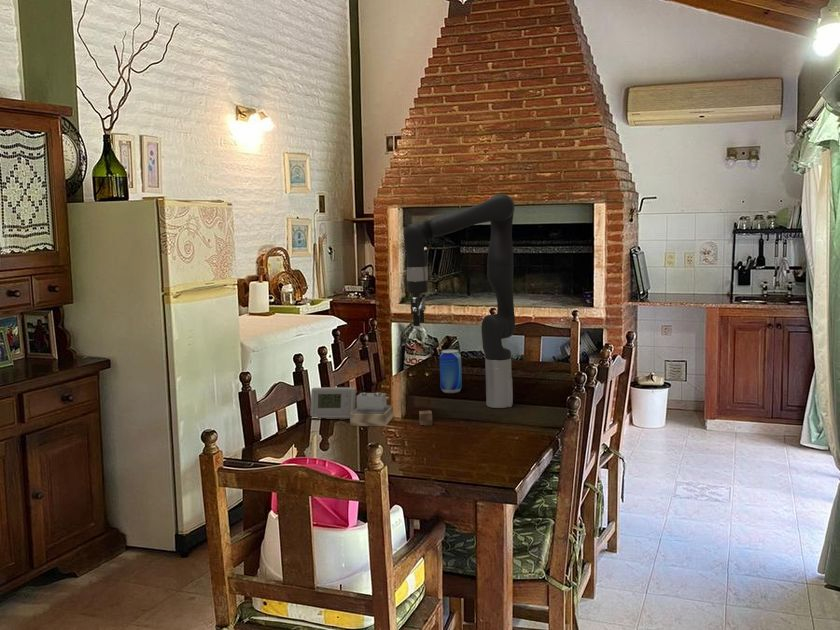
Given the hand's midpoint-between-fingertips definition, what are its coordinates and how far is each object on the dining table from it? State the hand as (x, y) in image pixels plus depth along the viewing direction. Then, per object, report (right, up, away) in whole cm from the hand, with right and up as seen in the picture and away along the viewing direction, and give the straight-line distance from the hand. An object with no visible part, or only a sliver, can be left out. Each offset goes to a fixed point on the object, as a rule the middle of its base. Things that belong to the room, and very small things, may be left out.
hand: (419, 324), depth 280 cm
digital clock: (-30, -33, -9) cm, 45 cm away
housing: (-16, -29, -15) cm, 36 cm away
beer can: (+13, -27, +26) cm, 39 cm away
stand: (-16, -33, -15) cm, 39 cm away
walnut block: (+2, -33, -21) cm, 39 cm away
